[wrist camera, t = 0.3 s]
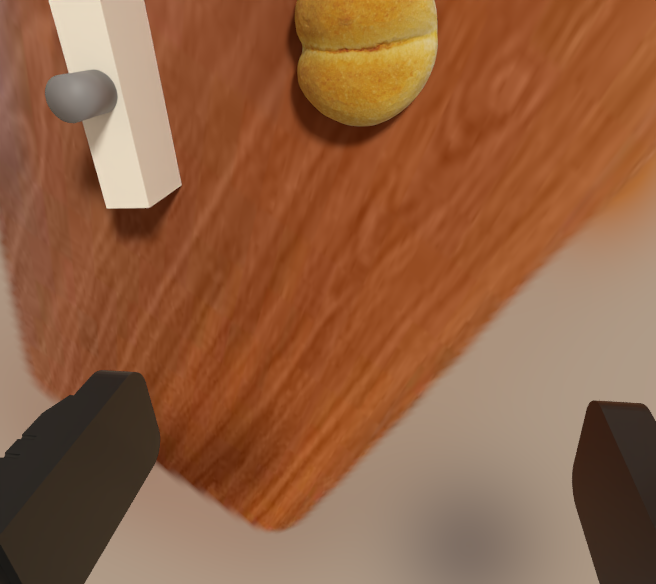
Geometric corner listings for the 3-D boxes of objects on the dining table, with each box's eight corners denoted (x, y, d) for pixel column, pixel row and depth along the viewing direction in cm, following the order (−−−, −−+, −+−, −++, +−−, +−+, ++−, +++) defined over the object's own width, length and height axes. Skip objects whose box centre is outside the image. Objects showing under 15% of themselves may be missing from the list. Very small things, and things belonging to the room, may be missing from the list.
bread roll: (303, 121, 34) (289, 133, 30) (297, -41, 30) (280, -48, 26) (431, 123, 33) (432, 136, 29) (444, -46, 28) (446, -54, 25)
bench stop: (88, -41, 31) (-8, -57, 24) (134, -46, 31) (49, -64, 24) (143, 186, 38) (79, 225, 31) (181, 185, 37) (125, 224, 30)
